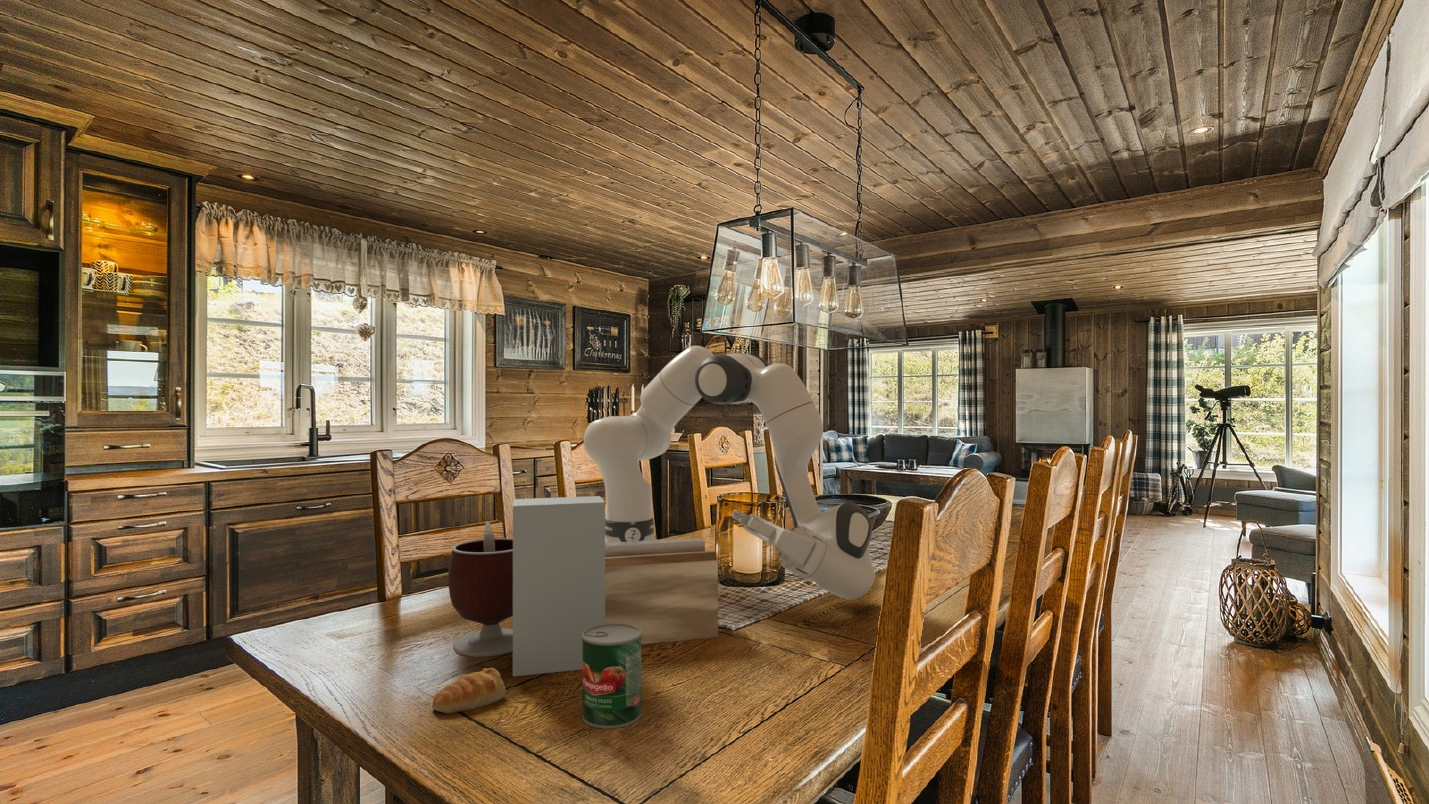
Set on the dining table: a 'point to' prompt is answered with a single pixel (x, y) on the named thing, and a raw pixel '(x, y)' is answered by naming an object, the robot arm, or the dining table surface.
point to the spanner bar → (654, 547)
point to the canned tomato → (611, 675)
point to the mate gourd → (483, 592)
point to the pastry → (470, 692)
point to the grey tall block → (556, 580)
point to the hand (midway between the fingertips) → (741, 517)
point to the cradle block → (664, 595)
